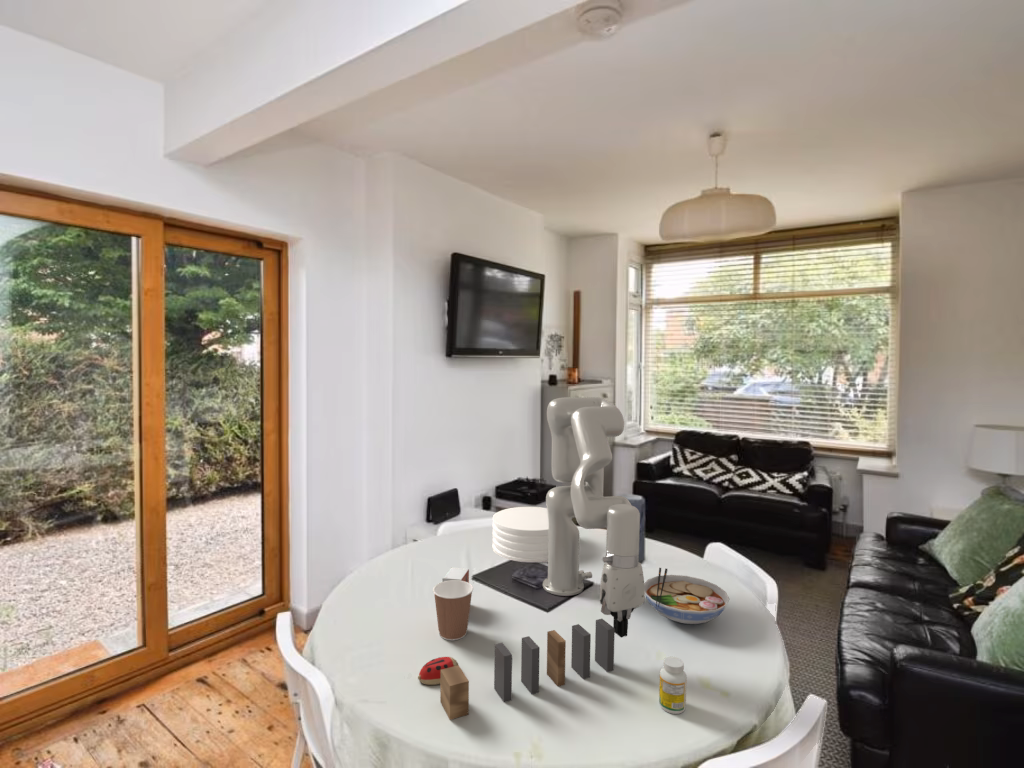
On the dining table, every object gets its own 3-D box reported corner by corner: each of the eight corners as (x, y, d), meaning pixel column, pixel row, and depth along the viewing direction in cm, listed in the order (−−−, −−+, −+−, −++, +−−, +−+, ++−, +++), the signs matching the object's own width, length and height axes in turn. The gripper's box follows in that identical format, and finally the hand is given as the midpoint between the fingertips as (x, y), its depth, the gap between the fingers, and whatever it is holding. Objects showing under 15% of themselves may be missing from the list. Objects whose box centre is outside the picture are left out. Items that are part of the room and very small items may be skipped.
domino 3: (553, 672, 125) (554, 629, 124) (564, 684, 120) (565, 640, 120) (546, 674, 124) (547, 631, 124) (557, 686, 120) (558, 642, 119)
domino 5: (601, 659, 130) (602, 618, 130) (613, 670, 126) (614, 628, 125) (594, 660, 130) (595, 620, 129) (607, 672, 125) (608, 629, 125)
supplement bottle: (679, 718, 110) (680, 672, 109) (654, 707, 113) (655, 662, 113) (689, 705, 114) (691, 661, 113) (665, 694, 117) (666, 651, 117)
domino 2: (528, 679, 122) (528, 636, 121) (538, 692, 118) (539, 647, 117) (521, 681, 121) (521, 637, 121) (531, 694, 117) (532, 649, 116)
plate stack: (489, 536, 215) (490, 507, 214) (560, 534, 218) (560, 506, 217) (495, 564, 187) (495, 531, 187) (575, 561, 190) (576, 529, 190)
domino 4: (577, 665, 128) (578, 624, 127) (589, 677, 123) (590, 634, 123) (571, 667, 127) (572, 625, 126) (583, 679, 122) (583, 636, 122)
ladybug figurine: (465, 677, 123) (465, 662, 123) (425, 692, 118) (425, 676, 117) (451, 662, 129) (451, 648, 128) (412, 677, 123) (412, 661, 123)
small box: (461, 617, 150) (461, 579, 149) (441, 615, 151) (441, 578, 150) (469, 604, 158) (469, 568, 157) (450, 602, 159) (450, 566, 158)
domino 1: (501, 686, 119) (502, 642, 119) (511, 700, 115) (512, 654, 114) (494, 688, 119) (494, 644, 118) (503, 702, 114) (504, 656, 113)
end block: (458, 697, 116) (458, 665, 115) (468, 714, 110) (468, 681, 110) (440, 702, 114) (440, 669, 114) (449, 719, 109) (449, 686, 108)
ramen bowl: (729, 649, 135) (730, 617, 135) (635, 631, 143) (636, 601, 143) (727, 605, 159) (728, 577, 158) (647, 592, 167) (647, 565, 166)
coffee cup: (479, 627, 145) (479, 583, 144) (463, 647, 135) (463, 600, 134) (443, 620, 148) (444, 577, 147) (425, 639, 138) (425, 593, 137)
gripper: (605, 569, 121) (603, 649, 123) (658, 559, 128) (655, 634, 129) (586, 557, 128) (584, 633, 129) (637, 548, 135) (635, 620, 136)
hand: (620, 633), depth 129 cm, fingers closed
